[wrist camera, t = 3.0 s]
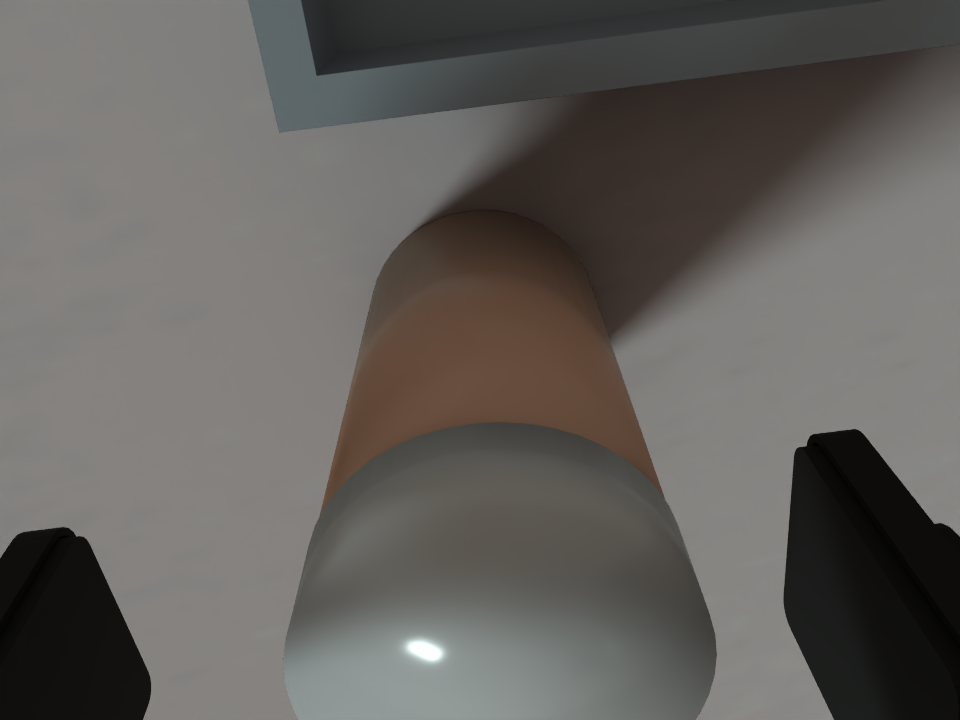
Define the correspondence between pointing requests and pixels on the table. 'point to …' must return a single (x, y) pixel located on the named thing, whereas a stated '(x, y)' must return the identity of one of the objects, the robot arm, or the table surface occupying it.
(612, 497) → the shaker
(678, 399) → the table surface
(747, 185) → the table surface
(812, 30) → the slate tray
